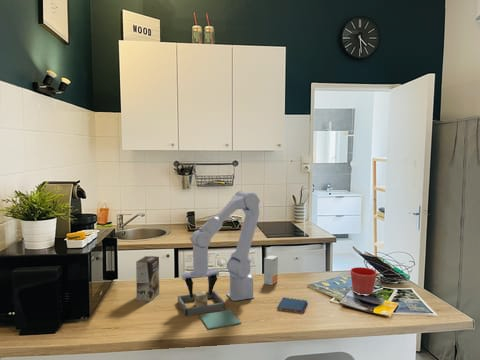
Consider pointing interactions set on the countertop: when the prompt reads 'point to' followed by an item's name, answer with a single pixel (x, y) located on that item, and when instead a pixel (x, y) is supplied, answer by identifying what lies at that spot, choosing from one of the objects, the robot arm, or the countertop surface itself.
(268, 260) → the skincare box
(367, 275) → the flower pot
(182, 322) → the countertop surface
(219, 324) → the teal board
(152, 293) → the coffee box
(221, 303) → the gray rectangular frame
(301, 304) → the dark blue flat block
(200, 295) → the maple block
